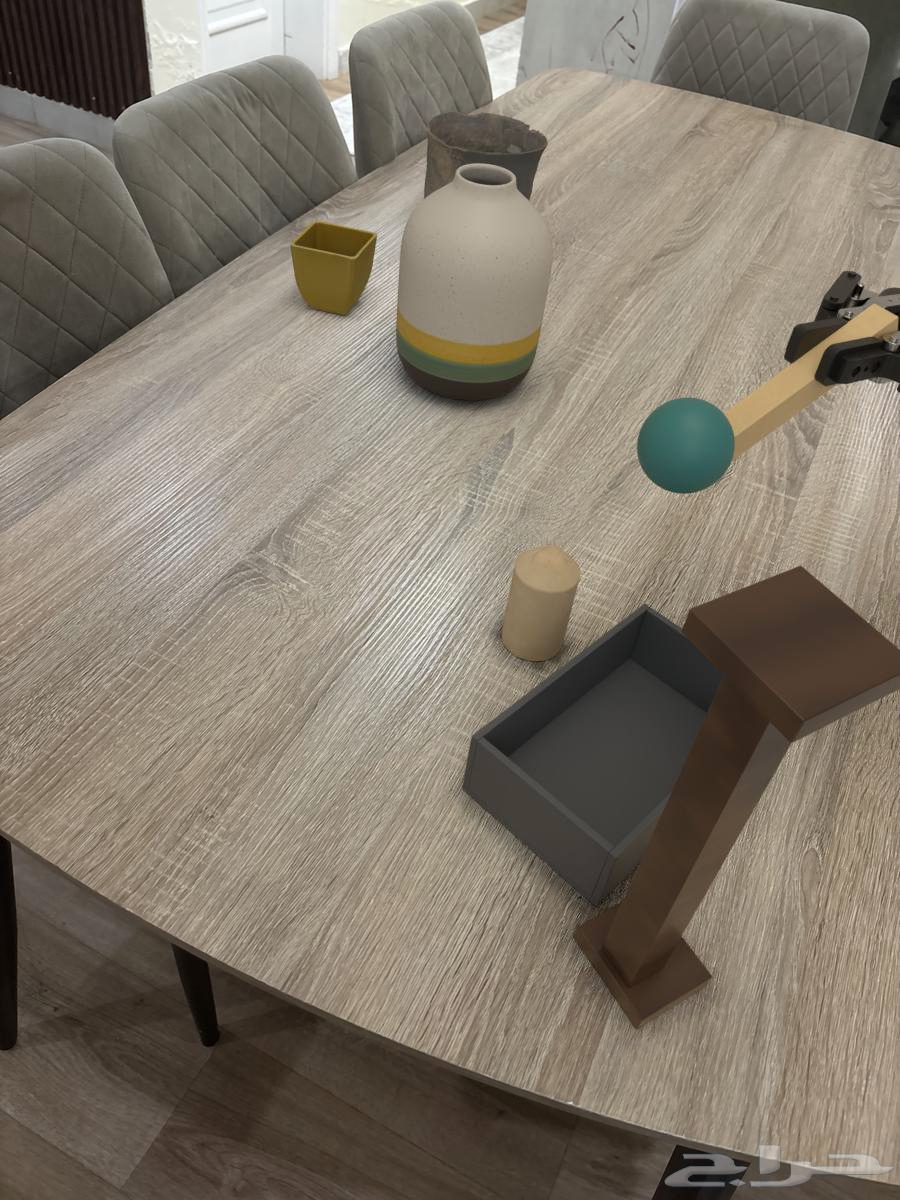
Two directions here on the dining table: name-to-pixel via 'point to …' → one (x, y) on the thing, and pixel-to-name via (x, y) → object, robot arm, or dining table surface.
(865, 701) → the stand
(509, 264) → the vase
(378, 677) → the dining table surface
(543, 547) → the candle
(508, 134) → the dark brown chipped pot
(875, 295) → the robot arm
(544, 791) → the bin
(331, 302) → the flower pot
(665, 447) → the rattle
